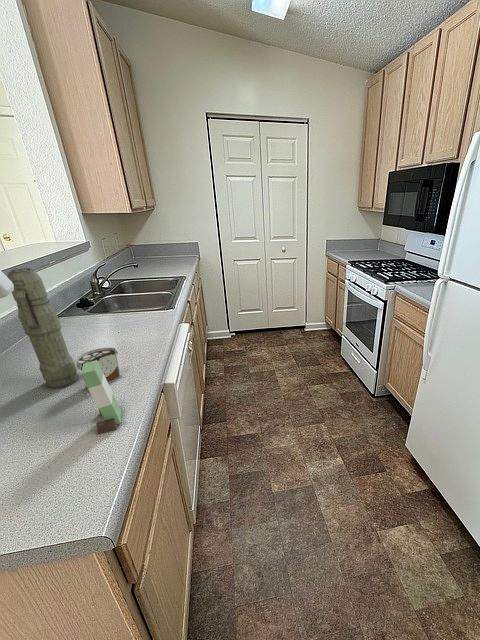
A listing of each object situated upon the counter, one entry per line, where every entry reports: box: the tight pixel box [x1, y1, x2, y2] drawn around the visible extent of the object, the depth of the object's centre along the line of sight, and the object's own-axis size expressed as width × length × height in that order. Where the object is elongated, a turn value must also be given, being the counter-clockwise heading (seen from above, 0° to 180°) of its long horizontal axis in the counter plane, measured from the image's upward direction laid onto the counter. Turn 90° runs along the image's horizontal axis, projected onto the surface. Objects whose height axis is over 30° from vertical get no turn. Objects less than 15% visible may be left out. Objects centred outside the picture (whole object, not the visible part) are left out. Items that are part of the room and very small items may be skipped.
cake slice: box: [75, 347, 121, 384], centre depth 103 cm, size 12×6×10 cm, turn 154°
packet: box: [80, 360, 122, 425], centre depth 83 cm, size 16×6×3 cm
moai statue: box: [7, 267, 80, 389], centre depth 98 cm, size 9×12×35 cm
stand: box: [95, 407, 118, 435], centre depth 86 cm, size 4×10×2 cm, turn 25°
